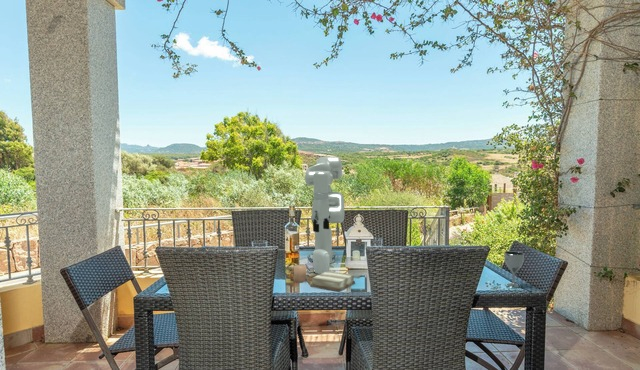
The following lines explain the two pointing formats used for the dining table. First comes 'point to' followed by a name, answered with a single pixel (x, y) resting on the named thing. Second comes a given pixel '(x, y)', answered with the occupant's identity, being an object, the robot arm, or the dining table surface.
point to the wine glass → (514, 263)
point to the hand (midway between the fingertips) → (321, 230)
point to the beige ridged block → (333, 281)
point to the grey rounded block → (321, 261)
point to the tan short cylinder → (300, 273)
